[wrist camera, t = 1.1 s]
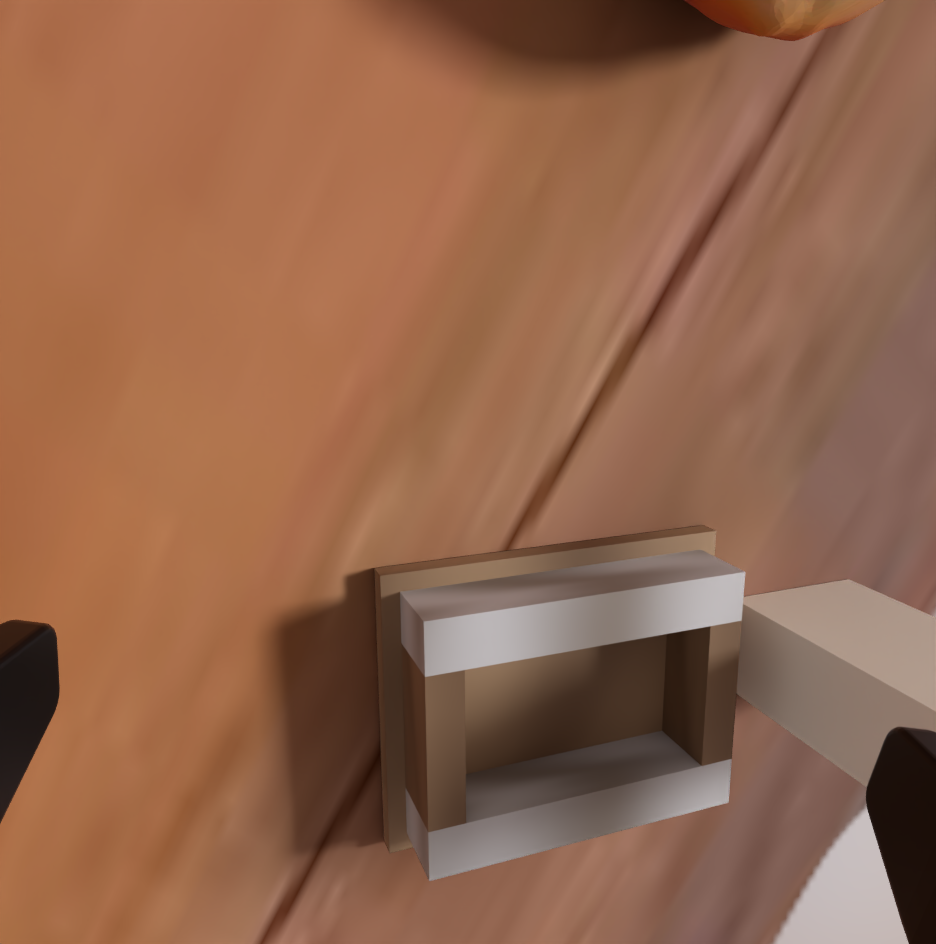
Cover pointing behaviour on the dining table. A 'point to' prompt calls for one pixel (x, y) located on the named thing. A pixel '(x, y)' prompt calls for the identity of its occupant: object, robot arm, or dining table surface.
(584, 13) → the dining table surface
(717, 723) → the track
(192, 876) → the dining table surface
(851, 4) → the fruit
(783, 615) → the tall cream box
